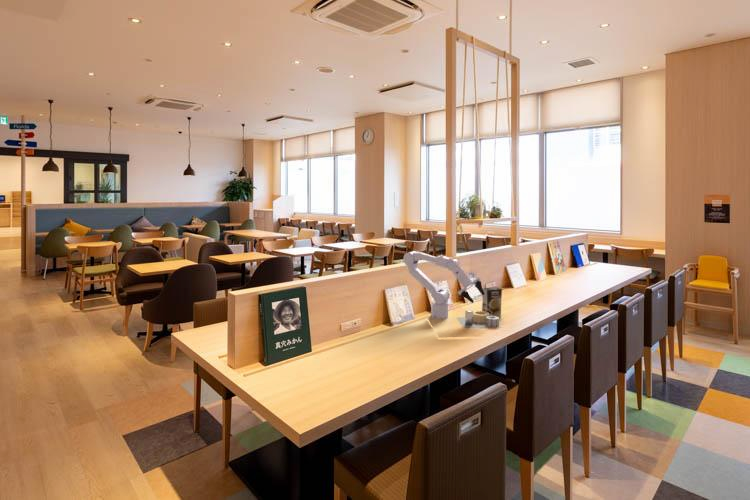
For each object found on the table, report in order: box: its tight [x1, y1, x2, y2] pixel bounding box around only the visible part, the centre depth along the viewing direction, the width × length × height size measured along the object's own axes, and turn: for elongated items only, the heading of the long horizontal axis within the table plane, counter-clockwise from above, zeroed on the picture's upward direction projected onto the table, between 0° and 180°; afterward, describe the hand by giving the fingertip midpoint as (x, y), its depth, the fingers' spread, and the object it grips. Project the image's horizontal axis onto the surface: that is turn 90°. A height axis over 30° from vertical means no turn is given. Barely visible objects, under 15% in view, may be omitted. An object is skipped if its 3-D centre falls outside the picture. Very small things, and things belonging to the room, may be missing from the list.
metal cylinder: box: [464, 310, 474, 325], centre depth 243 cm, size 4×4×7 cm
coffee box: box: [481, 286, 503, 318], centre depth 262 cm, size 9×6×16 cm
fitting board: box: [456, 310, 504, 329], centre depth 246 cm, size 20×20×5 cm
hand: (478, 298), depth 246 cm, fingers open, 7 cm apart
